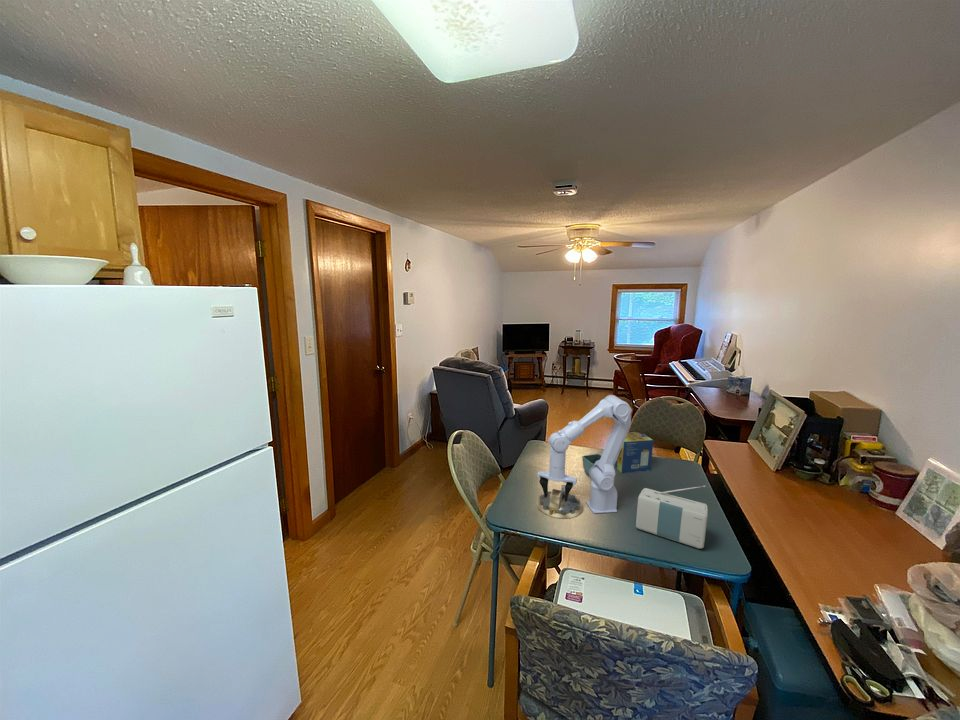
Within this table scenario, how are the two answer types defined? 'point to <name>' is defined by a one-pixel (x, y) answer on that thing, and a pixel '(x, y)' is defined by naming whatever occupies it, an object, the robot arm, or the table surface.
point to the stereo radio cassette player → (672, 517)
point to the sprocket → (565, 507)
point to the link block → (555, 499)
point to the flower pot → (590, 462)
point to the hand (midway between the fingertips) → (555, 498)
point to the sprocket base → (557, 515)
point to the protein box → (635, 453)
